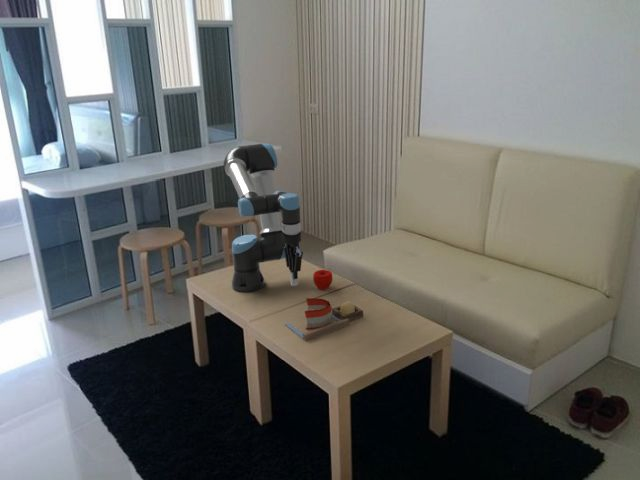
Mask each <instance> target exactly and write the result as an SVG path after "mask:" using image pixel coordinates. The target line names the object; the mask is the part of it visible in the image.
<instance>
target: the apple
mask: <svg viewBox="0 0 640 480" xmlns="http://www.w3.org/2000/svg"><path fill="white" fill-rule="evenodd" d="M312 275H313V276H312V279H313V283H314V285H315V287H316V288H317V289H318V290H320V291H324V290H327V289H329V287H330V286H331V284H332V282H333V273H332V272H331V271H330V270H327V269H319V270H316V271H315V272H314V273H313V274H312Z"/></svg>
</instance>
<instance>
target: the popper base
mask: <svg viewBox="0 0 640 480" xmlns="http://www.w3.org/2000/svg"><path fill="white" fill-rule="evenodd" d="M340 306H341V305H339V306H336V307H333V308H332V310H331V312H332V315H334V316H335V317H337V318H338V319H340V320H343V319H346V318H347V319H349V323H351V322H355V321H357V320H359V319H362V318H364V310H363V309H362V308H360V307H358V306H356V305H354V307H355V312H353V313H350V314H347V315H345V314H343V313H342V312H340Z"/></svg>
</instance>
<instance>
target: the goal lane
mask: <svg viewBox="0 0 640 480" xmlns="http://www.w3.org/2000/svg"><path fill="white" fill-rule="evenodd" d="M330 318H332V319H333V320H334V321H335V322H333V323H329V324H328V325H326V326H323V327H321V328H318V329H311V330H310V331H309V330H308V331H306V332H303V331H301V330H300V329H298V328H297V327H296V326H294V325H293V324H292V323H291V322H287V323H284V325H285V327H287V328H288V329H289V330H291V331H292V332H293V333H294V334H295V335H297V336H299V337H300V338H301V340H303V341H305V342H306V341H309V340H312V339H315V338H318V337H320V336H322V335H326V334H329V333H331V332H334V331H337V330H339V329H343V328H346V327H348V326H350V322H349V319H347V318H346V319H343V320H340V319H338V318H337V317H335V316H334V315H332V311H331V317H330Z"/></svg>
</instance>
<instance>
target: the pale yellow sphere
mask: <svg viewBox="0 0 640 480" xmlns="http://www.w3.org/2000/svg"><path fill="white" fill-rule="evenodd" d="M339 306H340V312H342V313H343V314H345V315H347V314H350V313H353V312H355V307H354V303H353V302H351V301H348V300H346V301H343V302H342V303H341V304H340V305H339Z"/></svg>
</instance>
